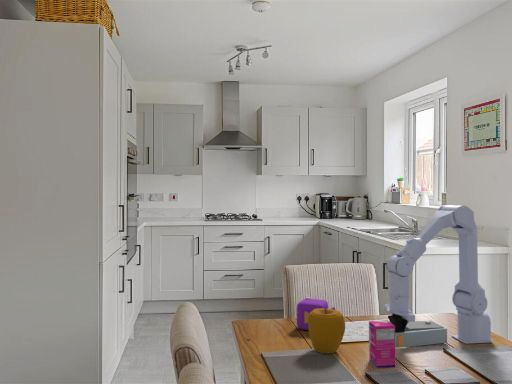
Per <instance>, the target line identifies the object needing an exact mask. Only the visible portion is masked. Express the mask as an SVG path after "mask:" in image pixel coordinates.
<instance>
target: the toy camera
mask: <svg viewBox="0 0 512 384" xmlns="http://www.w3.org/2000/svg"><path fill="white" fill-rule="evenodd" d="M317 308H323V309H324V308H326V309H329V303H328V301H327V300H325V299H320V298H319V299H315V298H311V297H310V296H308V297H307V296H306V297H305V298H304V299H302V300H300V301H299V302H298V303H297V305H296V327H297V328H298V330H299V329H300V330H303V331H304V330H305V331H309V327H308V316H309V314H310V312H312V311H313V310H314V309H317ZM330 309H333V310H336V307H334V306H333V307H330Z"/></svg>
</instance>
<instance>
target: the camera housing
mask: <svg viewBox="0 0 512 384" xmlns="http://www.w3.org/2000/svg"><path fill="white" fill-rule="evenodd" d="M441 328H445V327H444V326H443V325H441V324H438V323H436V322H435V321H432V320H415V322H408V324H407V326H406V328H405V331H404V332H408V331H419V330H430V329H441Z"/></svg>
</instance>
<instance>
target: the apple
mask: <svg viewBox="0 0 512 384" xmlns="http://www.w3.org/2000/svg"><path fill="white" fill-rule="evenodd" d="M308 327H309V330H308V334H309V339H310V342H311V344H312V346H313V349H314V351H315V352H318V353H320V354H324V353H326V354H327V355H329V354H330V353H331V354H334V353H335V352H337V351H338V350H339V349H340V347H341V346H340V345H341V344H342V341H343V338H344V335H345V331H346V321H345V317H344V315H343V313H342V312H341V311H339V310H337V309H335V310H333V309H331V308H328V309H326V308H324V309H323V308H317V309H314V310H313V311H312V312H310V314H309V316H308ZM331 354H330V355H331Z"/></svg>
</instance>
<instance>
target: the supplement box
mask: <svg viewBox="0 0 512 384" xmlns="http://www.w3.org/2000/svg"><path fill="white" fill-rule="evenodd" d="M368 360H369V362H370V363H371V364H372V365H373V367H374V368H375V369H379V368H380V369H382V368H383V369H385V368H386V369H387V368H396V365H397V364H396V348H395V326H394V325H393V324H392V323H390V321H389V319H386V320H385V319H382V320H368Z"/></svg>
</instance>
